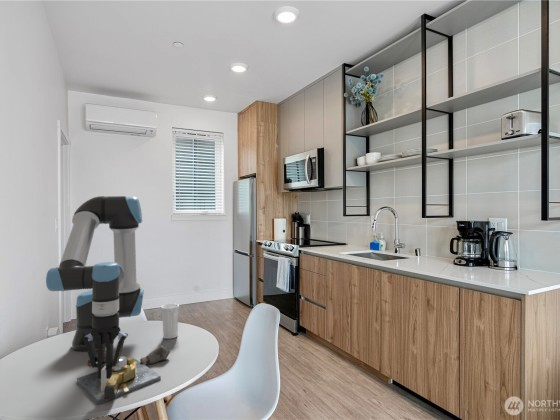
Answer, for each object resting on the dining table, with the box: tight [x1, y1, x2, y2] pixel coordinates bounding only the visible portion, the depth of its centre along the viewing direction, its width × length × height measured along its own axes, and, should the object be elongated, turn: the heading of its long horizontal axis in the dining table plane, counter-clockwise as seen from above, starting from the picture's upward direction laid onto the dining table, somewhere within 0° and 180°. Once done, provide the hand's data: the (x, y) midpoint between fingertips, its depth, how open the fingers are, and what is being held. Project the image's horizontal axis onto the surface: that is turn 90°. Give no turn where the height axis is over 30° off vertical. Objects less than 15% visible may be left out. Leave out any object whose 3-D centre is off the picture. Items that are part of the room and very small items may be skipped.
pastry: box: [87, 348, 106, 367], centre depth 130 cm, size 8×8×5 cm
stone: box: [139, 345, 171, 366], centre depth 129 cm, size 10×5×8 cm
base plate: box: [76, 355, 162, 405], centre depth 115 cm, size 21×20×7 cm
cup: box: [160, 302, 180, 340], centre depth 154 cm, size 8×8×14 cm
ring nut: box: [100, 356, 137, 400], centre depth 111 cm, size 20×11×4 cm, turn 15°
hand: (105, 388), depth 105 cm, fingers closed
